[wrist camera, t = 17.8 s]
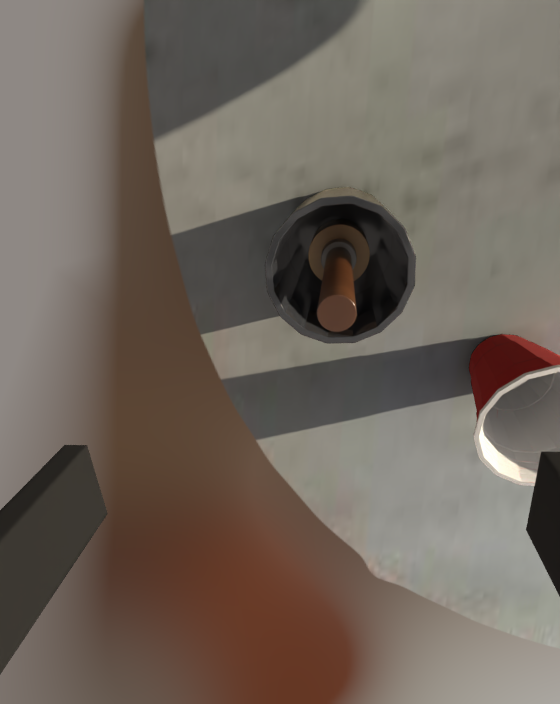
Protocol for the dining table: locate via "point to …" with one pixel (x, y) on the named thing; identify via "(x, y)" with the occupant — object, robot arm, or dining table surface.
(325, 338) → the grey cylindrical container
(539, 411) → the plastic cup
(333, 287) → the brush
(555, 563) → the robot arm
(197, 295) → the dining table surface
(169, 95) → the dining table surface
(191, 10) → the dining table surface
